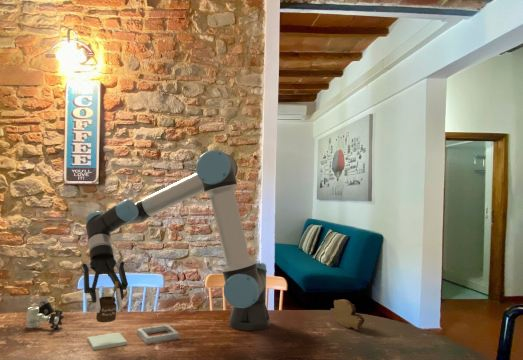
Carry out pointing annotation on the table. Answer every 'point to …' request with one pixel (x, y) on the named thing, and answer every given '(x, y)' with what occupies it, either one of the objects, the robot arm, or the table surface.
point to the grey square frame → (159, 338)
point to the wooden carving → (347, 314)
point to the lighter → (45, 308)
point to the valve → (42, 318)
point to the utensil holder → (107, 307)
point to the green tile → (106, 341)
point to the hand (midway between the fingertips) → (109, 309)
